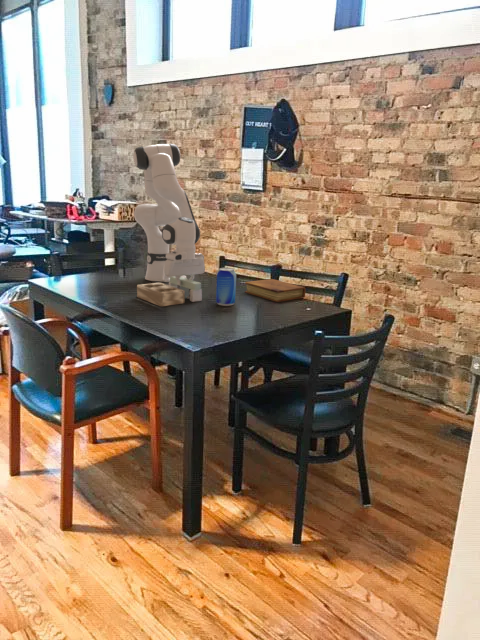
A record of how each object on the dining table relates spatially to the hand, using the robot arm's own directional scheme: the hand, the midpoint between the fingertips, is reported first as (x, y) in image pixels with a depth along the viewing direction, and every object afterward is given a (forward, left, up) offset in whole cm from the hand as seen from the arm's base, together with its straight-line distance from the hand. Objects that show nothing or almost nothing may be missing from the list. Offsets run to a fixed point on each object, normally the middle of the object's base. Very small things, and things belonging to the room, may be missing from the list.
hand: (184, 284), depth 241 cm
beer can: (-8, +20, -6) cm, 22 cm away
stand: (0, 0, -6) cm, 6 cm away
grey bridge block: (0, 0, -6) cm, 6 cm away
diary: (-42, +16, -7) cm, 45 cm away
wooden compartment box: (+13, 0, -6) cm, 14 cm away
